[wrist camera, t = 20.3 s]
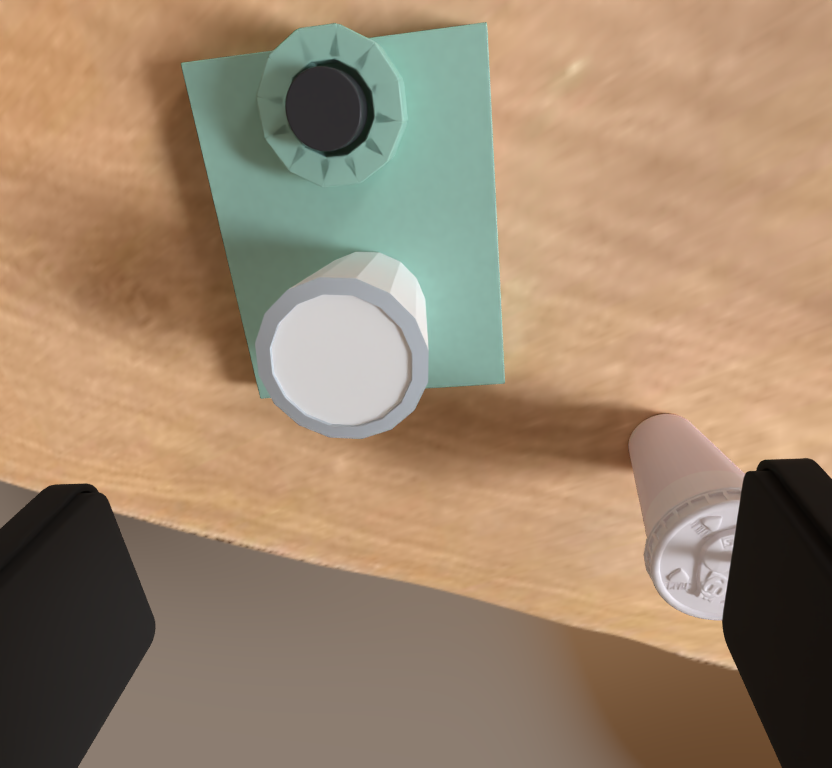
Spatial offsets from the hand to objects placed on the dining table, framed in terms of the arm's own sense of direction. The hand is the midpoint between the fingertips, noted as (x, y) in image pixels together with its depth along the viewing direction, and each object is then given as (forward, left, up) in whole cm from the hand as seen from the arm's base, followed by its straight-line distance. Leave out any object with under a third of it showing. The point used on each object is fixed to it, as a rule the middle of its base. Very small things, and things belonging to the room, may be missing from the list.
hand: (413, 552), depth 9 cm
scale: (-1, -4, -23) cm, 23 cm away
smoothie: (+12, +11, -23) cm, 28 cm away
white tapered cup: (+3, -4, -21) cm, 22 cm away
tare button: (-6, -4, -20) cm, 21 cm away
